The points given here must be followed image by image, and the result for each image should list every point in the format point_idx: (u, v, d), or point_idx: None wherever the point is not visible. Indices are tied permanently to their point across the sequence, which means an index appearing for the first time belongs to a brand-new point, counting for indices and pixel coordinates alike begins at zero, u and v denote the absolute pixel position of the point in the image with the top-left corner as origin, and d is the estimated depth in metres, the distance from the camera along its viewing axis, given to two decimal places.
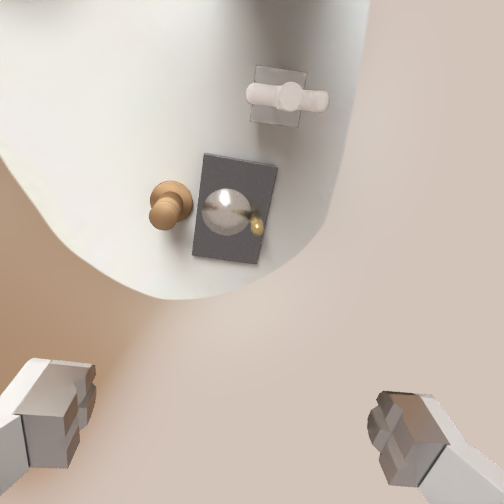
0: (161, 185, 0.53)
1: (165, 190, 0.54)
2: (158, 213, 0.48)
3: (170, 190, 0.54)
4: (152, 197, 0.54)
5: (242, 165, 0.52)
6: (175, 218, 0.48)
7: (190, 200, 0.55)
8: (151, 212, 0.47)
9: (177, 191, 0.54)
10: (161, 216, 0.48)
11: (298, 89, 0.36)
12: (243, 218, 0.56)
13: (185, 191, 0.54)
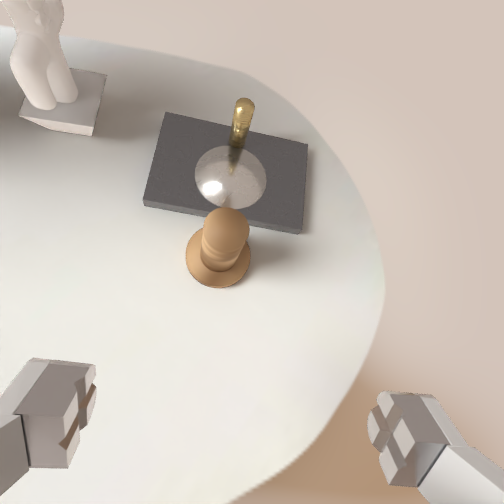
0: (190, 266, 0.34)
1: (198, 260, 0.34)
2: (219, 233, 0.28)
3: (198, 253, 0.35)
4: (210, 282, 0.34)
5: (161, 152, 0.37)
6: (227, 208, 0.29)
7: None
8: (217, 244, 0.27)
9: (200, 243, 0.35)
10: (224, 229, 0.28)
11: None
12: (239, 156, 0.39)
13: (200, 232, 0.35)
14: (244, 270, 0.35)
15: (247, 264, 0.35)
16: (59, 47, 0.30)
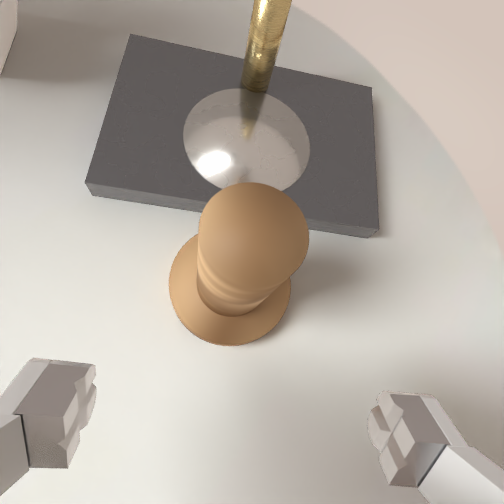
0: (178, 307, 0.17)
1: (194, 296, 0.18)
2: (238, 246, 0.11)
3: (193, 281, 0.18)
4: (218, 337, 0.17)
5: (121, 99, 0.21)
6: (255, 186, 0.12)
7: None
8: (235, 274, 0.11)
9: (196, 262, 0.18)
10: (250, 235, 0.11)
11: None
12: (261, 105, 0.22)
13: (195, 240, 0.19)
14: (281, 310, 0.18)
15: (286, 298, 0.19)
16: None
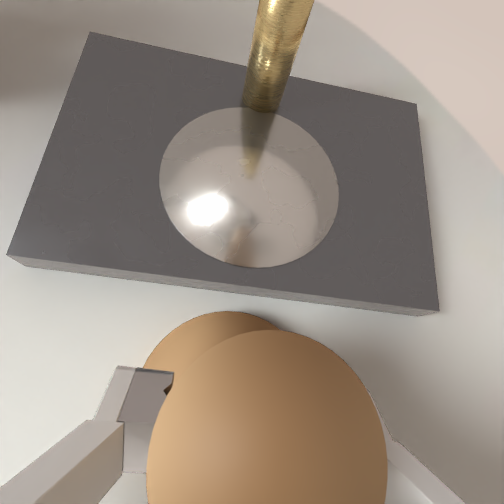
0: None
1: None
2: (236, 502, 0.05)
3: None
4: None
5: (72, 124, 0.14)
6: (271, 338, 0.06)
7: (213, 317, 0.13)
8: None
9: (174, 374, 0.12)
10: (263, 468, 0.05)
11: None
12: (270, 131, 0.16)
13: (174, 338, 0.13)
14: None
15: None
16: None
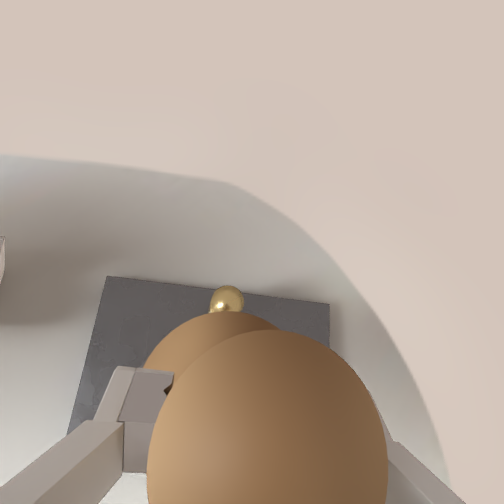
0: None
1: None
2: (237, 502, 0.05)
3: None
4: None
5: (97, 354, 0.23)
6: (272, 337, 0.06)
7: (213, 317, 0.13)
8: None
9: (175, 374, 0.12)
10: (264, 468, 0.05)
11: None
12: None
13: (174, 338, 0.13)
14: None
15: None
16: None
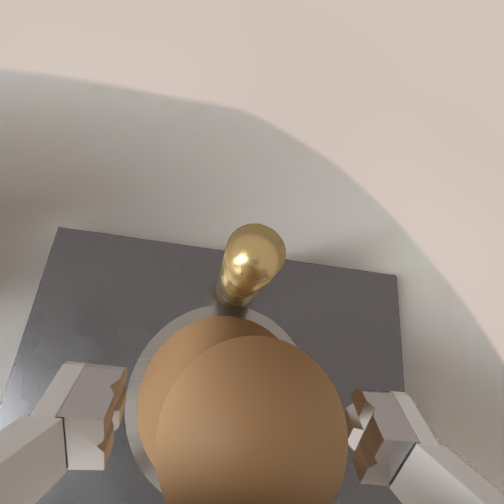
0: (149, 444, 0.13)
1: None
2: (225, 472, 0.06)
3: None
4: None
5: (35, 348, 0.14)
6: (255, 342, 0.07)
7: (211, 321, 0.15)
8: None
9: (176, 373, 0.14)
10: (247, 446, 0.07)
11: None
12: None
13: (175, 340, 0.14)
14: None
15: None
16: None
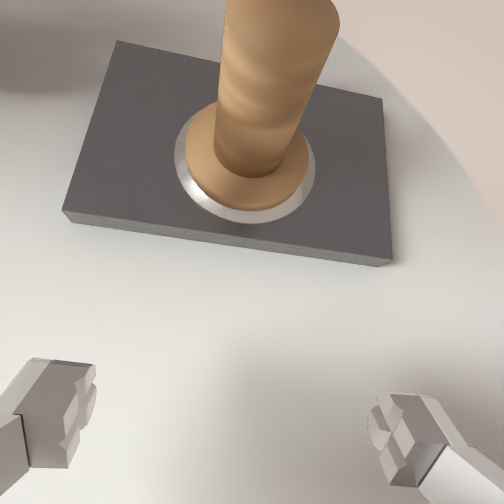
0: (195, 165, 0.17)
1: (211, 157, 0.17)
2: (267, 19, 0.11)
3: (210, 144, 0.18)
4: (237, 195, 0.17)
5: (106, 113, 0.18)
6: None
7: None
8: (266, 41, 0.10)
9: (213, 127, 0.18)
10: (280, 12, 0.11)
11: None
12: None
13: (212, 108, 0.18)
14: (300, 176, 0.18)
15: (304, 166, 0.18)
16: None
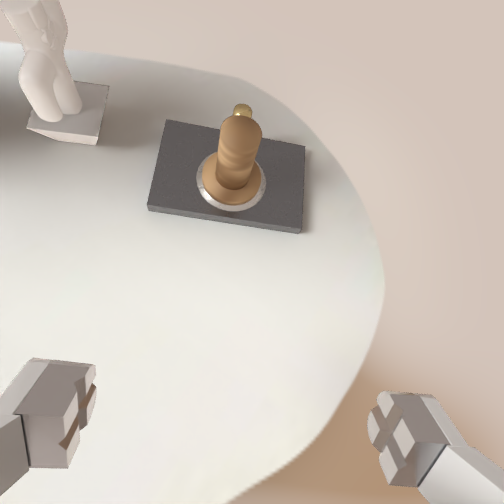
0: (207, 184, 0.37)
1: (214, 180, 0.37)
2: (235, 136, 0.31)
3: (214, 173, 0.37)
4: (226, 198, 0.37)
5: (163, 158, 0.38)
6: (241, 116, 0.32)
7: None
8: (234, 145, 0.30)
9: (215, 165, 0.38)
10: (239, 133, 0.31)
11: None
12: None
13: (214, 155, 0.38)
14: (256, 188, 0.38)
15: (259, 184, 0.38)
16: (64, 62, 0.31)
